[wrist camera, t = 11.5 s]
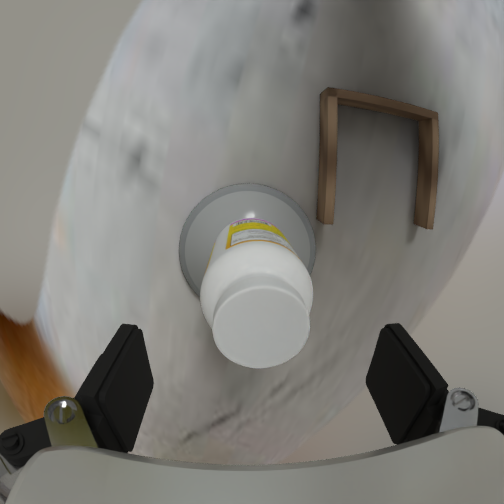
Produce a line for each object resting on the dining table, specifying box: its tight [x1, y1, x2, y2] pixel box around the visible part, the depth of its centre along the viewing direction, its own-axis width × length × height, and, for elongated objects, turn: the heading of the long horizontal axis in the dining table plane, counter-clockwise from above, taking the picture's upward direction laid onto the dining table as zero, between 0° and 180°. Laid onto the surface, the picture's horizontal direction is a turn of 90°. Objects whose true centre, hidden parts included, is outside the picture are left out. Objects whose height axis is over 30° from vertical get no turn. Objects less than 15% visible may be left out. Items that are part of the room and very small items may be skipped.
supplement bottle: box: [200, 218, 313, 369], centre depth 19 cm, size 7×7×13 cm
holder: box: [317, 87, 439, 229], centre depth 23 cm, size 12×12×2 cm
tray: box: [179, 183, 316, 297], centre depth 26 cm, size 12×12×1 cm
